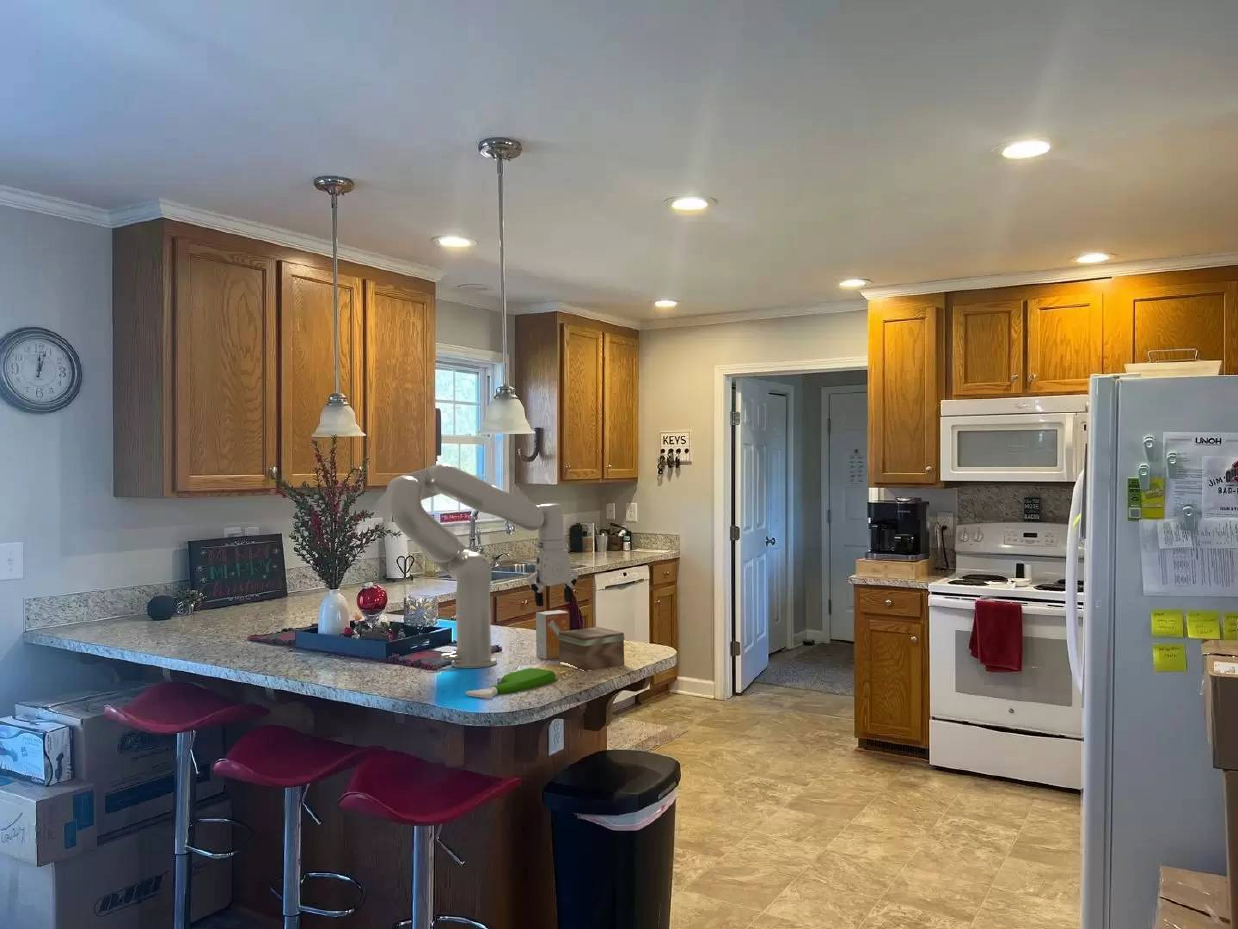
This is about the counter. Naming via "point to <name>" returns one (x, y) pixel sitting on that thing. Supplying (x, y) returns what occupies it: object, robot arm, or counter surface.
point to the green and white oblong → (517, 682)
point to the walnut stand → (592, 648)
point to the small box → (550, 632)
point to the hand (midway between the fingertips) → (554, 604)
